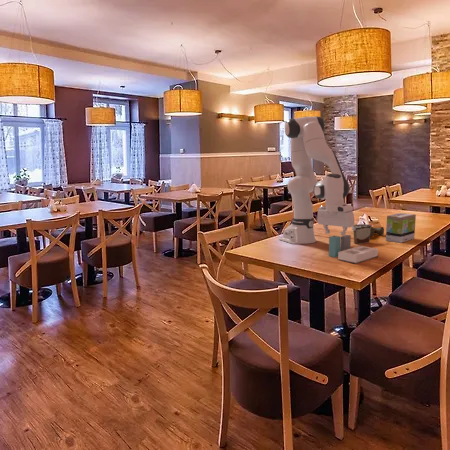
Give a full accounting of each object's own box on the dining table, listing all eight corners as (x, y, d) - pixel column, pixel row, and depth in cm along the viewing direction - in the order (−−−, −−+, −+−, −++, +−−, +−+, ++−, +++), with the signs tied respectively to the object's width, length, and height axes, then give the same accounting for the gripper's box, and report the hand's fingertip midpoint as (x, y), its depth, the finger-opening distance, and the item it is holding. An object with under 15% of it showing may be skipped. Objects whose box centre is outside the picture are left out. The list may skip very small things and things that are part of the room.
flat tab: (340, 253, 215) (340, 236, 213) (347, 251, 218) (347, 234, 216) (343, 254, 213) (344, 237, 212) (350, 252, 216) (350, 235, 215)
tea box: (402, 243, 231) (402, 217, 229) (385, 240, 239) (386, 215, 237) (415, 238, 241) (416, 213, 238) (398, 236, 248) (399, 212, 246)
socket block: (338, 260, 202) (338, 252, 202) (360, 253, 213) (360, 245, 213) (355, 263, 195) (356, 255, 194) (377, 256, 205) (377, 248, 205)
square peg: (328, 256, 210) (329, 236, 209) (333, 254, 213) (334, 235, 211) (335, 257, 207) (335, 237, 206) (340, 256, 210) (340, 236, 208)
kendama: (358, 239, 249) (370, 232, 264) (374, 241, 243) (386, 234, 258) (359, 229, 248) (371, 223, 263) (375, 231, 242) (386, 224, 257)
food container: (363, 240, 243) (363, 223, 241) (371, 242, 238) (371, 224, 236) (347, 242, 238) (347, 225, 236) (354, 244, 232) (355, 227, 230)
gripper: (314, 206, 212) (315, 233, 214) (347, 208, 196) (348, 237, 198) (322, 205, 215) (322, 231, 218) (356, 207, 199) (356, 235, 202)
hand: (335, 234), depth 208 cm, fingers open, 8 cm apart
